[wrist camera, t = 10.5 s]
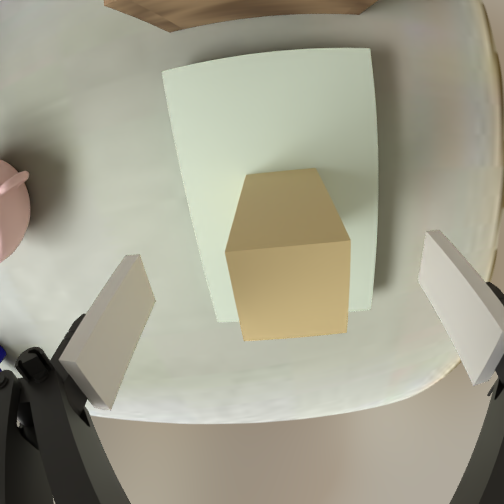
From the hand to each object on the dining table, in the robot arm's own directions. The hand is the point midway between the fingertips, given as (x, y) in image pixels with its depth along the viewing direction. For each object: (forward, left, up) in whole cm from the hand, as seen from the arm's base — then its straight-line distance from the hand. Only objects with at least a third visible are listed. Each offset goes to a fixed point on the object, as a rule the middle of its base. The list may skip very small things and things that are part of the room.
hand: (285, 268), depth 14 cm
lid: (0, 0, -11) cm, 11 cm away
